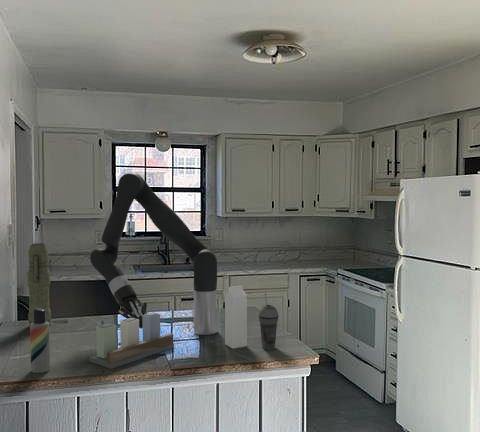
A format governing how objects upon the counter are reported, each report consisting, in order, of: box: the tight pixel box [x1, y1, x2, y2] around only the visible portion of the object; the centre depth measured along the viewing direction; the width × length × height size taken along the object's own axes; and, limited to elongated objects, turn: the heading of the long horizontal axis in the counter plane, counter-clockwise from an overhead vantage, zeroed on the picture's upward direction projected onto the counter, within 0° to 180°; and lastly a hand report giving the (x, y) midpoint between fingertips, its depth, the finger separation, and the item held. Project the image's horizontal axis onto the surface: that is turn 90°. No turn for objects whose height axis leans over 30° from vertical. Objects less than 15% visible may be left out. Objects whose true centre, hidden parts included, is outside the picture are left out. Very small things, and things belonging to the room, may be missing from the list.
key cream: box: [119, 318, 140, 348], centre depth 178 cm, size 4×5×10 cm
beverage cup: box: [258, 292, 279, 350], centre depth 184 cm, size 7×7×20 cm
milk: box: [224, 285, 248, 349], centre depth 187 cm, size 6×6×22 cm
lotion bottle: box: [29, 308, 51, 374], centre depth 161 cm, size 6×6×20 cm
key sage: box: [95, 323, 117, 359], centre depth 170 cm, size 4×5×10 cm
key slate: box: [142, 311, 161, 342], centre depth 186 cm, size 4×5×10 cm
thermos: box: [27, 242, 52, 329], centre depth 214 cm, size 9×12×35 cm
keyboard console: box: [88, 332, 175, 370], centre depth 177 cm, size 12×28×5 cm, turn 142°
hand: (143, 326), depth 188 cm, fingers closed
